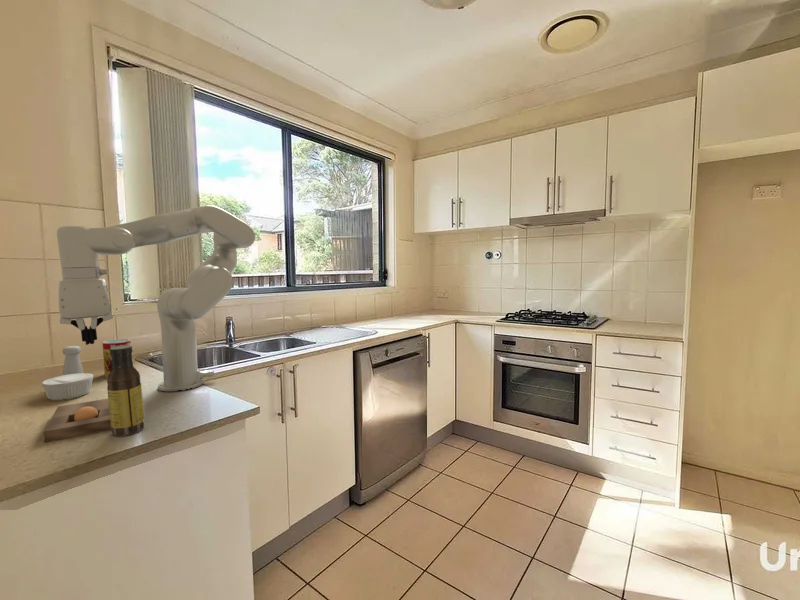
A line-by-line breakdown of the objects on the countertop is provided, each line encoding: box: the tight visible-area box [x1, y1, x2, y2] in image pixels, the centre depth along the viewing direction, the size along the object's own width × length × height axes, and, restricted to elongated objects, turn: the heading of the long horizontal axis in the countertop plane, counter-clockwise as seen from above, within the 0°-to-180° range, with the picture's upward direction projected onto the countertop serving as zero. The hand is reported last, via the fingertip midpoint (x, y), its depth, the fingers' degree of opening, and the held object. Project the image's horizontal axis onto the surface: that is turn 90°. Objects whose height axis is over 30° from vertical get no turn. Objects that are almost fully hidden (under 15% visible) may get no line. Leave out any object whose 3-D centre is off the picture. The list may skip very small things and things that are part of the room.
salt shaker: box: [61, 345, 85, 376], centre depth 116 cm, size 6×6×13 cm
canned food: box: [102, 338, 132, 377], centre depth 131 cm, size 8×8×12 cm
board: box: [43, 398, 112, 443], centre depth 90 cm, size 14×18×2 cm
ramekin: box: [41, 372, 94, 401], centre depth 108 cm, size 11×11×5 cm
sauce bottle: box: [106, 345, 145, 437], centre depth 83 cm, size 6×6×20 cm
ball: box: [74, 406, 98, 421], centre depth 88 cm, size 4×4×4 cm
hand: (90, 343), depth 97 cm, fingers closed
